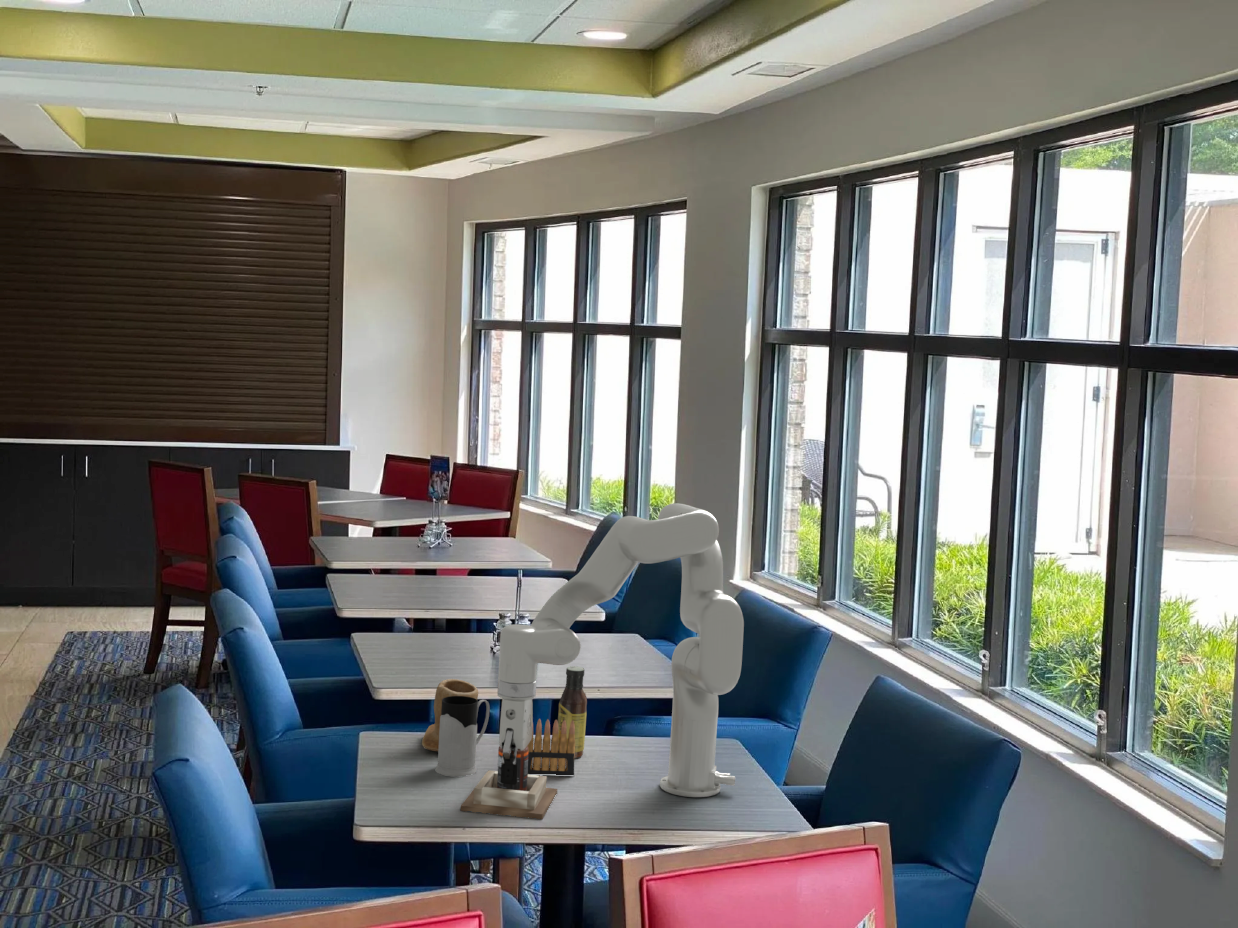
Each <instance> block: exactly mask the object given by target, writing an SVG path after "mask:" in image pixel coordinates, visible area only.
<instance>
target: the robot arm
mask: <svg viewBox="0 0 1238 928" xmlns="http://www.w3.org/2000/svg"><path fill="white" fill-rule="evenodd" d="M719 532H720V527H719V523H718V521H717V519H716V518H715V516H714V515H713V513H710V512H709V511H707V510H705V509H702V508H698V507H694V506H692V505H688V504H685V503H677V502H676V503H670V504H667V505H665V506H663V508H661V510H660V512H659V514H658V517H657V519H651V520H650V519H646V518H642V517H640V516H633V515H626V516H623V517H621V518H619V519H618V520H616V522H615V523H613V525H612V526H611V527H610V529H609V530H608V532H607V534H605V536H604V537H603V539H602V541H601V542H600V544H599V545H598V546H597V547H596V549H595V550H594V552H593V553H592V555H591V556H590V558H588V560H587V561H586V563H585V564H584V566H583V567H582V568H581V570H580V571H579V572H578V573H577V574H576V575H575V576H573V577H571V578H570V579H569V580H568V581H567V582H565V584H564V585H562V586H561V587H560V588H558V589H557V590H556V591H555V592H554V593H553V594H552V595H551V596H550V597H549V598H548V600H547V601H546V602H545V604H544V605H543V606H542V608H540V610H539V612H538V614H537V615H536V616H535V618H534V619H533V621H532V622H531V624H530V625H528V624H519V623H518V624H508V625H505V626H504V627H503V628H502V629H501V631H500V637H499V639H500V640H499V653H498V655H499V656H498V673H497V674H498V676H497V677H498V678H497V697H498V698H501V699H502V700H501V708H500V710H501V711H500V721H499V741H498V742H499V743H498V744H499V746H500V747H501V748H502V749H503V755H502V763H501V783H502V784H512V785H516V784H517V776H518V764H516V763H517V755H518V749H520V750H521V751H522V750H524V749H525V748H526V747H527V745H528V744H529V742H530V741H531V739H532V722H533V719H534V717H533V714H534V713H533V699H535V698H536V697H537V678H538V677H537V676H538V664H546V665H553V666H564V665H568V664H570V663H572V662H573V661H575V660H576V659H577V658H578V656H579V655H580V652H581V649H582V648H581V646H582V645H581V640H580V638H579V636H578V634H576V633H575V632H574V631H573V630H572V629H570V628H571V626H572V625H573V624H574V622H575V621H576V620H577V619H578V618H580V616H581V615H582V614H583V613H584V612H585V611H587V610H588V609H589V608H592V607H594V606H596V605H599V604H602V603H605V602H608V601H609V600H612V599H613V598H614V597H615V596H617V594H618V592H619V591H620V589H621V588H622V586H624V583H625V582H626V581H627V580H628V578H629V577H630V575H631V574H632V572H633V571H634V570H635V568H636V567H637V565H638V564H639V563H641V564H657V563H662V562H667V561H672V560H675V559H680V562H681V585H680V586H681V590H680V591H681V592H680V605H679V606H680V607H679V613H680V614H679V616H680V621H681V622H682V624H683V625H684V626H685V628H686V629H689V630H690V631H691V632H693V633H696V634H698V635H699V636H693V637H692V636H691V637H687V638H684V639H683V640H681V641H680V642H679V643H678V644H677V645H676V647H675V648H674V650H673V653H672V656H671V662H670V663H671V667H670V668H671V677H672V678H671V679H672V710H671V712H672V713H671V722H670V723H671V724H670V740H669V754H668V755H669V758H668V771H667V775H665V776H664V777H661V779H660V781H659V787H660V788H661V789H662V790H663V791H665V792H666V793H668V794H672V795H675V796H680V797H686V798H687V797H688V798H706V797H707V798H708V797H711V796H716V795H718V794H719V793H720V791H721V785H726V786H735V784H736V776H735V775H731V773H728V772H727V773H726V772H724V773H723V772H720V771H717V764H716V765H715V763H716V762H715V761H716V747H717V746H716V745H717V736H718V735H717V731H718V719H719V718H718V717H719V696H721V695H725V694H727V693H730V692H731V691H732V690H733V689H734V688H735V687H736V685H737V684H738V682H739V679H740V676H741V672H742V666H743V665H742V662H743V649H744V648H743V647H744V646H743V645H744V627H745V621H744V615H743V612H742V609H741V606H740V604H739V603H738V602H737V601H736V600H735V599H734V598H733V597H731V596H730V595H728V594H726V593H724V586H723V585H724V560H723V554H722V550H721V546H720V543H719V541H718V538H719V534H720V533H719ZM511 745H516V747H515V748H511ZM511 751H513V752H514V757H513V753H511Z"/></svg>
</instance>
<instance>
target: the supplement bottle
mask: <svg viewBox="0 0 1238 928" xmlns="http://www.w3.org/2000/svg"><path fill="white" fill-rule="evenodd" d="M515 747H516V745H511V748H515ZM511 753H513V757H514V752H513V751H511ZM502 755H503V749H502V748H501V747H500V745H499V746H498V754H497V757H498V758H497V771H498V776H497V788H501V789H510V790H520V791H526V789H527V777H528V747H526V748H525V749H524V750H522V751H521V750H520V749H518V755H517V763H516V764H518V776H517V784H516V785H512V784H502V783H501V763H502Z"/></svg>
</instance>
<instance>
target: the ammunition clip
mask: <svg viewBox="0 0 1238 928" xmlns="http://www.w3.org/2000/svg"><path fill="white" fill-rule="evenodd" d="M536 723H537V724H536V727H535V735H534V722H533V721H532V739H531V741H530V742H529V744H528V745H527V747H528V774H556V775H574V776H575V758H574V756H575V725H574V721H573V720H572V722H571V724H570V729H569V737H568V743H567V727H566V721H565V720H564V721H563V723H562V727H561V735H560V740H559V738H558V719H555V720H554V723H553V725H552V726H553V727H552V732H551V724H550V723H551V722H550V720H549V718H547V719H546V721H545V725H544V731H543V733H542V730H543V729H542V728H543V727H542V726H543V725H542V720H541V718H538V720H537V722H536ZM551 733H552V735H551ZM542 734H543V735H542ZM542 736H543V737H542ZM558 747H559V751H558Z"/></svg>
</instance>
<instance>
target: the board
mask: <svg viewBox="0 0 1238 928" xmlns="http://www.w3.org/2000/svg"><path fill="white" fill-rule="evenodd" d="M497 776H498V770H487V772H485V774H484V775H483V777H482V778H481V779H480V781H478V783H477V784H476V785H475V787H474V788H473V789H472V790H471V792H470V793H469V795H468V796H467V797H466V798H465V799H464V801H463V802H462V803H461V805H460V812H467V811H472V812H471V813H476V812H482V813H481V814H486V813H490V815H496V814H498V816H505V815H511V816H510V817H515V816H516V817H517V818H524V817H526V819H534V818H536V819H537V820H543V819H544V818H545V816H546V815H547V813H548V811H547V810H549V809H550V807H551V805H552V804H553V802H554V800H555V798H556V797H555V795H556V794H557V795H558V788H554V787H553V788H552V787H547V780H548V776H540V775H530V774H528V777H527V789H526V791H520V790H510V789H501V788H497ZM557 795H556V796H557ZM554 797H555V798H554ZM553 799H554V800H553ZM552 801H553V802H552ZM551 803H552V804H551ZM550 804H551V805H550ZM549 806H550V807H549ZM548 808H549V809H548ZM528 817H529V818H528Z"/></svg>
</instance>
